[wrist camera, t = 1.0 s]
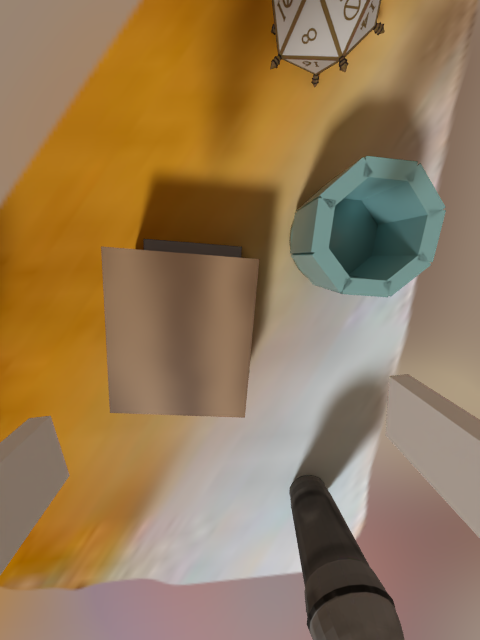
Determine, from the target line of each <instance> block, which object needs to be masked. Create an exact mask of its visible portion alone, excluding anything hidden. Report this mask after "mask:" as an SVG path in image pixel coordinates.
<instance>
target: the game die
mask: <svg viewBox="0 0 480 640" xmlns="http://www.w3.org/2000/svg"><path fill="white" fill-rule="evenodd" d="M380 4H381V0H272V6H273V15H274V24H275V25H274V24H273V26H272V30H271V32H272V33H273V34H274V35H275V34H276V41H277V50H278V56H275V57H274V60H272V61H271V62H272V64H271V69H273V68H277V66H278V64H280V60H281V59H283V60H285V61H287V62H289V63H291V64H293V65H295V66H298V67H300V68H302V69H304V70H306V71H308V72H310V73H313V74H314V76H313V78H312V79H313V80H312V83H313V85H314V87H315V86H316V85H317V83H319V82H318V79H319V76H318V74H319V73H321V72H323V71H324V70H326V69H328V68H329V67H331V66H333V65H334V64H336V63H338V62H339V67H340V71H341V70H342V71H344V72H346V68H347V65H348V63H347V59H345V57H346V56H347V55H348V54H349V53H350V52H351V51H352V50H353V49H354V48H355V47H356V46H357V45H358V44H359V43H360V42H361V41H362V40H363V39H364V38H365V37H366V36H367V35H368V34H369V33H370V32H371V31H372V30H374V32H375V34H376V33H377V35H379V34H381V33H384V24H381V22H380V23H377V17H378V13H379V8H380Z"/></svg>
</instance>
